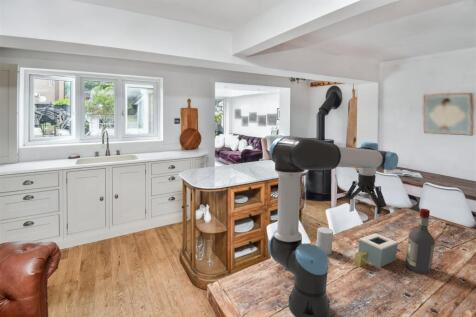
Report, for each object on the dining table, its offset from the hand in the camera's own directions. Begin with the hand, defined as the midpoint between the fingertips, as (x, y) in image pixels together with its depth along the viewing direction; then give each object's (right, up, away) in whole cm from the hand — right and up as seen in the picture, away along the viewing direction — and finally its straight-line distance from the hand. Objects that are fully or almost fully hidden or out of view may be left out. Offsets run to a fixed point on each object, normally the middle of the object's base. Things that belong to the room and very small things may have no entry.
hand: (363, 215), depth 131 cm
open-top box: (+10, -24, +6) cm, 26 cm away
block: (-1, -25, 0) cm, 25 cm away
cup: (-16, -23, +13) cm, 30 cm away
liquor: (+25, -26, -3) cm, 36 cm away
